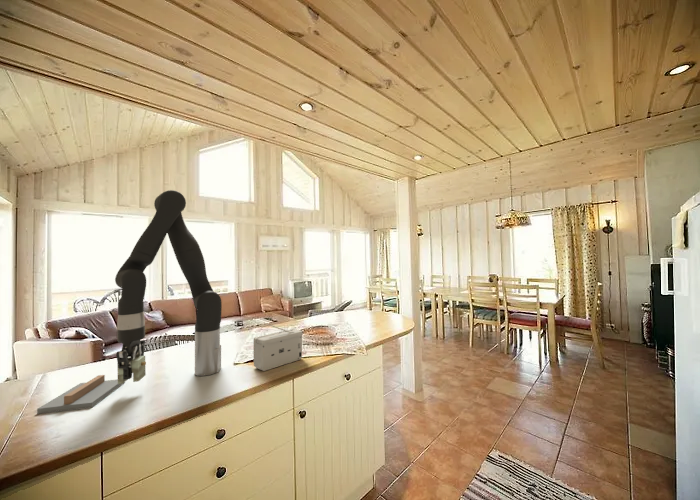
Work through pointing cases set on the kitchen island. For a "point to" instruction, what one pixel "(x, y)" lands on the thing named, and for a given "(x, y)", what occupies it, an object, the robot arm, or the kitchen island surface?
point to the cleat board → (82, 400)
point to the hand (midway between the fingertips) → (132, 375)
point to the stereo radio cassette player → (277, 348)
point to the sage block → (134, 370)
